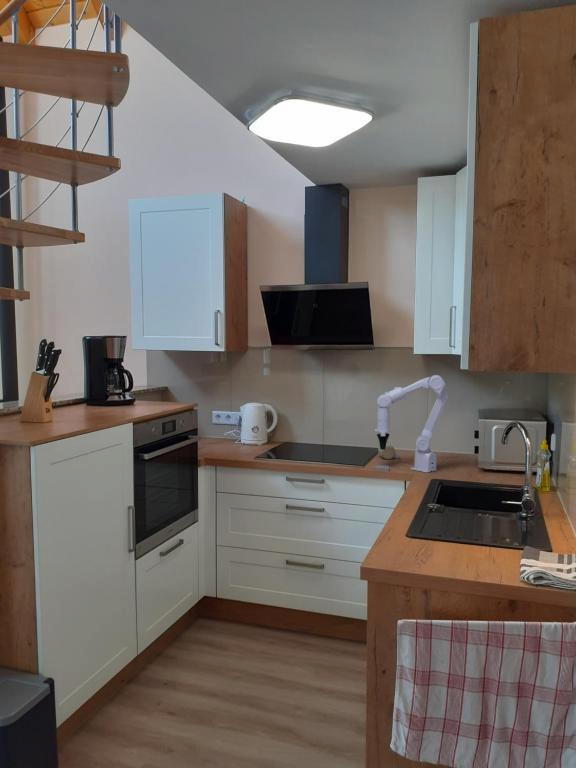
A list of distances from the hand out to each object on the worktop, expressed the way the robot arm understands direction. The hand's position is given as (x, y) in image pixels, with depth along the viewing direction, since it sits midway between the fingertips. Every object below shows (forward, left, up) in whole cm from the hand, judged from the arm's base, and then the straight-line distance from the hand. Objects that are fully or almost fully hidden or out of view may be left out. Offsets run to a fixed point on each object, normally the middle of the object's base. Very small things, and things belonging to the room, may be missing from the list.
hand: (382, 449), depth 282 cm
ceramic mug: (+13, -20, -9) cm, 25 cm away
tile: (-2, +2, -8) cm, 8 cm away
